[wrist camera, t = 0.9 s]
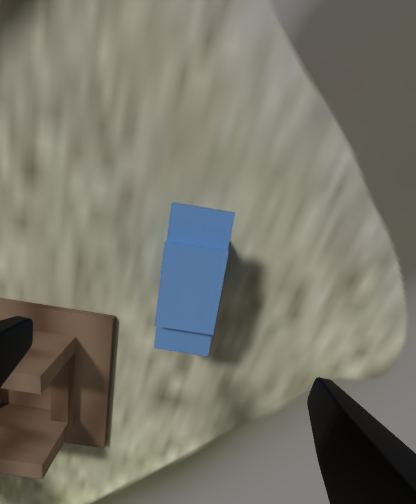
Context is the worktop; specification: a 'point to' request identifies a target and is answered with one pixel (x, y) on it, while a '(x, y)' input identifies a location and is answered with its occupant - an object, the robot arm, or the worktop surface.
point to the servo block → (192, 278)
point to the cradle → (55, 387)
